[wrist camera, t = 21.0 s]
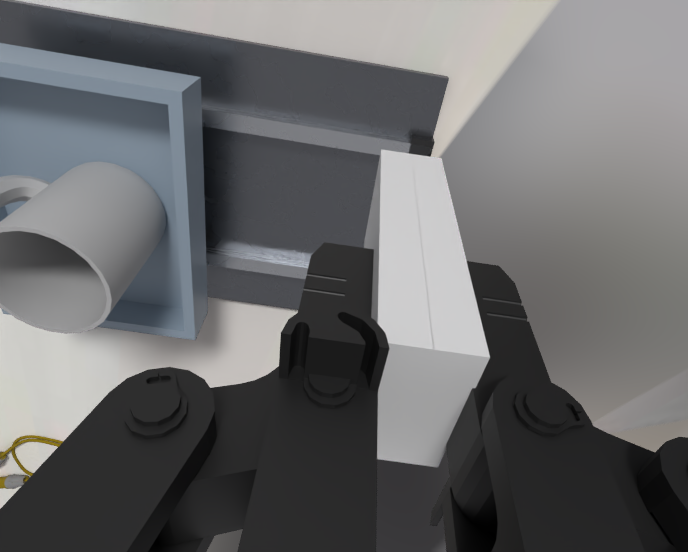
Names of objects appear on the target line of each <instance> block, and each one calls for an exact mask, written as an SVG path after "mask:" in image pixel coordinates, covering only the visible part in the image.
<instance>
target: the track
mask: <svg viewBox="0 0 688 552" xmlns="http://www.w3.org/2000/svg"><path fill="white" fill-rule="evenodd" d="M0 43H4V44H10V45H15V46H21V47H27V48H33V49H39V50H45V51H51V52H56V53H62V54H68V55H74V56H80V57H86V58H92V59H98V60H103V61H109V62H115V63H121V64H127V65H133V66H139V67H145V68H150V69H156V70H162V71H168V72H174V73H180V74H186V75H192V76H197V77H201V100H202V133H203V165H204V198H205V230H206V263H207V295H208V297H214V298H221V299H228V300H235V301H242V302H249V303H256V304H263V305H270V306H276V307H283V308H290V309H297V310H299V306H300V301H301V297H302V293H303V289H304V284H305V279H306V276H307V271H308V266H309V262H310V258H311V255H312V254H313V253H314V252H315V251H316V250H317V249H318V248H319V247H320V246H321V245H322V244H323V243H324V242H326V243H333V244H340V245H347V246H354V247H361V248H364V240H365V235H366V229H367V224H368V219H369V213H370V208H371V202H372V197H373V191H374V186H375V180H376V175H377V169H378V164H379V158H380V153H381V149H382V150H389V151H395V152H402V153H409V154H416V155H422V156H429V157H430V156H431V152H432V149H433V145H434V139H433V134H434V131H435V127H436V123H437V120H438V116H439V112H440V109H441V105H442V101H443V98H444V94H445V90H446V87H447V83H448V79H449V78H448V77H447V76H442V75H436V74H430V73H425V72H419V71H413V70H408V69H402V68H396V67H391V66H385V65H379V64H373V63H368V62H362V61H356V60H351V59H345V58H339V57H334V56H328V55H322V54H317V53H311V52H305V51H300V50H294V49H288V48H282V47H277V46H271V45H265V44H260V43H254V42H248V41H243V40H237V39H231V38H226V37H220V36H214V35H208V34H203V33H197V32H191V31H186V30H180V29H174V28H169V27H163V26H157V25H152V24H146V23H140V22H134V21H129V20H123V19H117V18H112V17H106V16H100V15H95V14H89V13H83V12H78V11H72V10H66V9H60V8H55V7H49V6H43V5H38V4H32V3H26V2H21V1H15V0H0Z"/></svg>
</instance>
